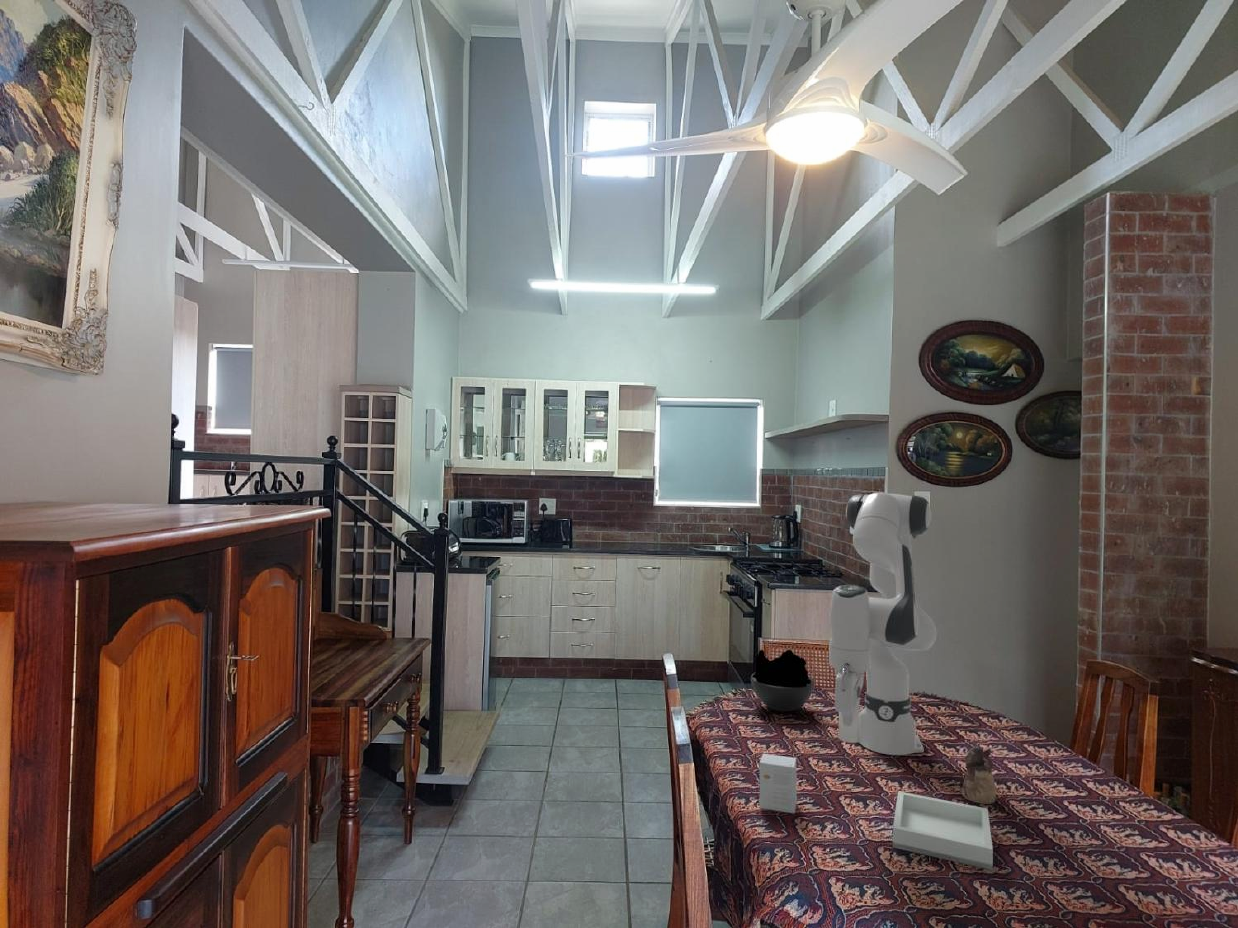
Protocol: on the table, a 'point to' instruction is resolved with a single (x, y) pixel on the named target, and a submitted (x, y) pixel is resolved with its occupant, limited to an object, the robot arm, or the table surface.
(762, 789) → the small box
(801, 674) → the coal bowl
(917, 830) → the tray
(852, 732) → the shaker
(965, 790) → the figurine
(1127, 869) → the table surface
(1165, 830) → the table surface
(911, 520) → the robot arm
